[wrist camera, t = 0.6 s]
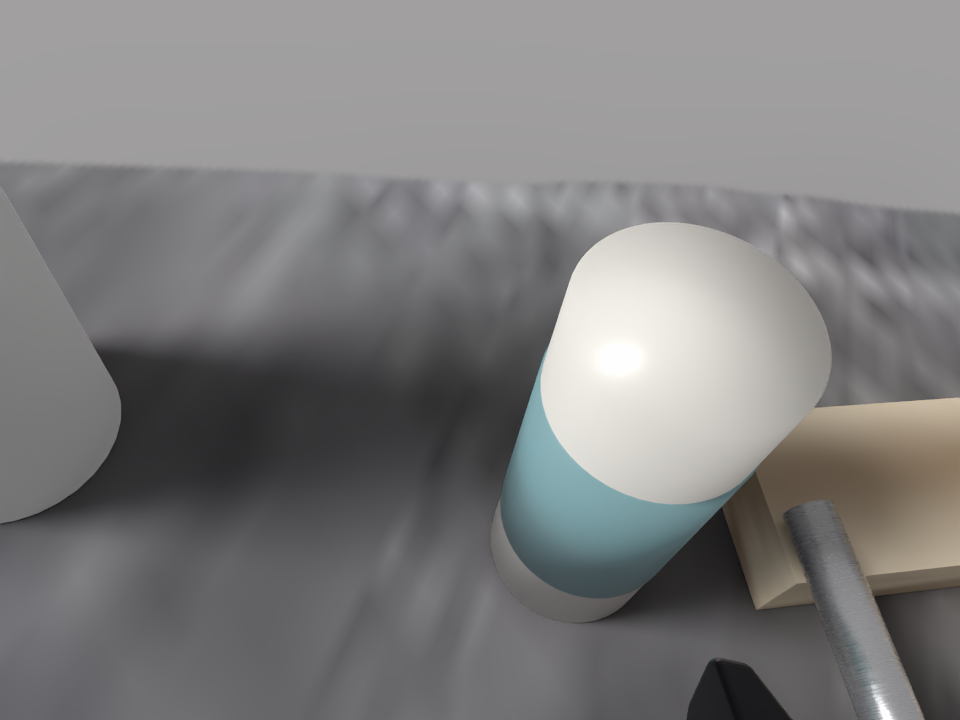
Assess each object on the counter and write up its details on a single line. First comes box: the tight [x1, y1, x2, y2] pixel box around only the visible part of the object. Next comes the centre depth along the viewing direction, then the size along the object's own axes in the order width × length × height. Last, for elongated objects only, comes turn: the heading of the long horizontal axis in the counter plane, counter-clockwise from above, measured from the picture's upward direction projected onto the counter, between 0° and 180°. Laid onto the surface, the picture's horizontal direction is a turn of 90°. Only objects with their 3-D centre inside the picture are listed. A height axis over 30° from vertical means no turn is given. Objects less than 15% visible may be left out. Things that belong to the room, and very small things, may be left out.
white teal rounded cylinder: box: [490, 222, 832, 623], centre depth 20 cm, size 6×6×13 cm
